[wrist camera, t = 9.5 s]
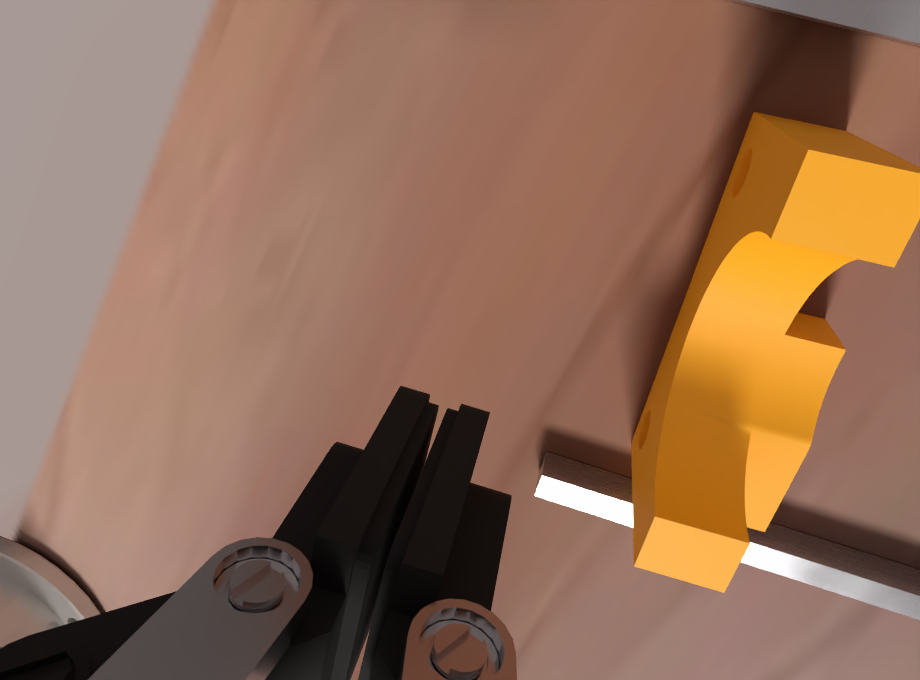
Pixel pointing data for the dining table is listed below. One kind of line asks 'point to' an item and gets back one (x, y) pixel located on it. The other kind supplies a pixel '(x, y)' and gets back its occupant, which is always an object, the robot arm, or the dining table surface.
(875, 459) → the dining table surface
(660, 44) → the dining table surface
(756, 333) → the pipe clamp
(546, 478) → the hinge bracket
